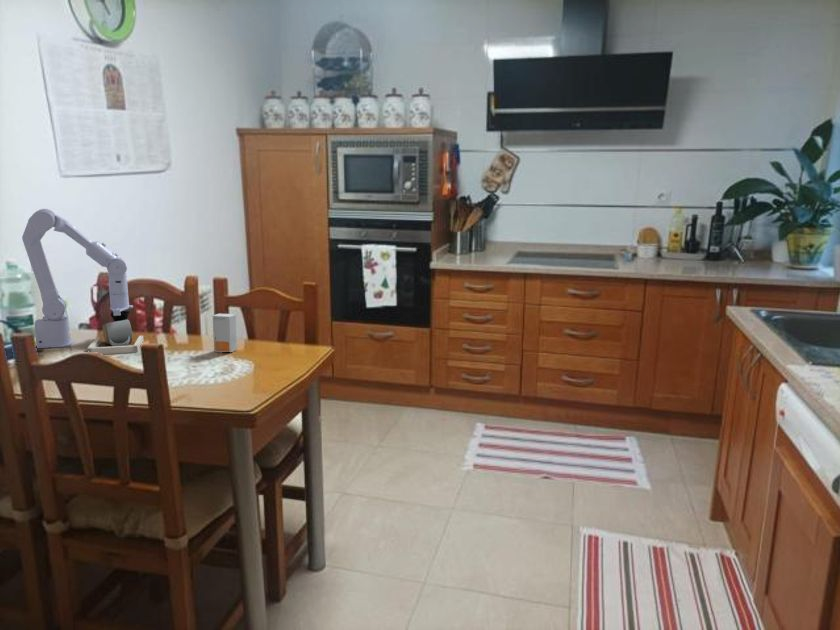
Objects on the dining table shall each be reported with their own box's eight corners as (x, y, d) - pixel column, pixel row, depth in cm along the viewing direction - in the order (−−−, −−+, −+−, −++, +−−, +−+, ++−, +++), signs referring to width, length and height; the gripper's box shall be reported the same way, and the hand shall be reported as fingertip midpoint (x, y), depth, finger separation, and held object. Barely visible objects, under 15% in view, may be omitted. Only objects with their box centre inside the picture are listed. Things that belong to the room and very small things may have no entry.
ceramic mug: (103, 342, 211) (101, 320, 210) (129, 339, 216) (127, 317, 214) (108, 349, 203) (106, 326, 201) (135, 346, 207) (133, 323, 206)
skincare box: (213, 352, 201) (211, 315, 198) (220, 349, 205) (219, 313, 202) (230, 353, 199) (229, 316, 197) (237, 350, 203) (236, 314, 201)
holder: (87, 354, 196) (86, 348, 195) (96, 343, 210) (96, 337, 210) (137, 352, 200) (137, 345, 199) (143, 341, 214) (143, 335, 214)
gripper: (128, 296, 207) (131, 336, 210) (134, 289, 221) (137, 327, 224) (105, 297, 205) (108, 337, 208) (112, 290, 219) (115, 328, 222)
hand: (122, 332), depth 216 cm, fingers closed
